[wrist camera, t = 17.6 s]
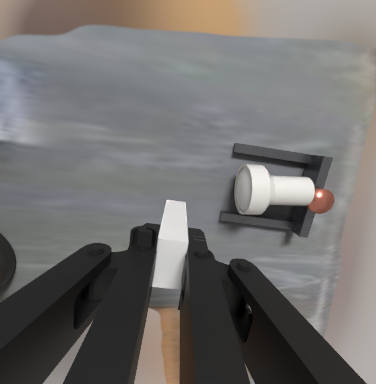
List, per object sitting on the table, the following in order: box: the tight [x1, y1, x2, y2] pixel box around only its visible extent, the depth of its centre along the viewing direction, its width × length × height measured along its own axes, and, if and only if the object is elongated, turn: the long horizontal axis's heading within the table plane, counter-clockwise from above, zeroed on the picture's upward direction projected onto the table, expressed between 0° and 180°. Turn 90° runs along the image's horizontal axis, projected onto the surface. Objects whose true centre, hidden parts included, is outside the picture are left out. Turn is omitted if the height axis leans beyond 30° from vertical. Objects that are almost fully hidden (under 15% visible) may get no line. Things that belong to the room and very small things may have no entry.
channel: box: [220, 143, 334, 237], centre depth 35 cm, size 16×14×6 cm
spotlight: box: [234, 164, 315, 215], centre depth 33 cm, size 8×11×8 cm
